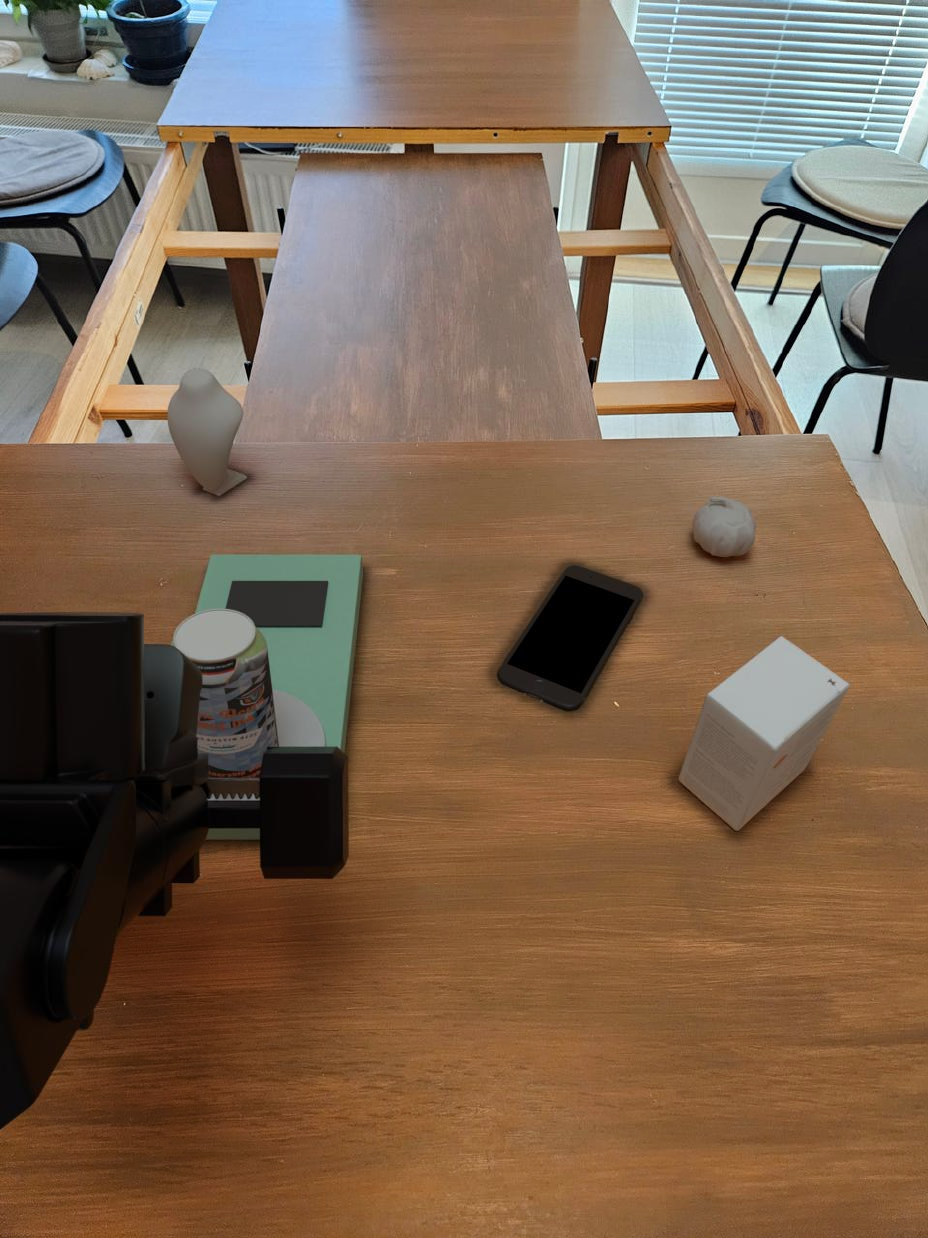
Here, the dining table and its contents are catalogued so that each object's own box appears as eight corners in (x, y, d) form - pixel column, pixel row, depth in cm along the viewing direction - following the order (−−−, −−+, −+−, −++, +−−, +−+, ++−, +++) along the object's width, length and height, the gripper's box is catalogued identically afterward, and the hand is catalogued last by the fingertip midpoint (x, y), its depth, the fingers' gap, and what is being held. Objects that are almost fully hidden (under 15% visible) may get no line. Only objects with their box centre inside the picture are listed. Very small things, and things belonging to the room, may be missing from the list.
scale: (335, 840, 61) (331, 819, 59) (145, 840, 61) (134, 819, 59) (363, 572, 78) (360, 549, 76) (215, 572, 78) (209, 548, 76)
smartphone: (490, 682, 71) (491, 675, 70) (568, 566, 80) (569, 559, 79) (576, 719, 68) (577, 712, 68) (646, 595, 77) (647, 588, 77)
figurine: (172, 487, 86) (138, 379, 77) (207, 458, 89) (179, 350, 80) (233, 512, 84) (206, 404, 75) (268, 480, 87) (246, 373, 78)
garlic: (673, 538, 82) (683, 494, 78) (716, 517, 84) (728, 473, 80) (719, 577, 78) (733, 533, 74) (763, 554, 80) (778, 509, 76)
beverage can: (181, 793, 60) (133, 683, 51) (213, 706, 65) (175, 592, 56) (272, 802, 60) (240, 693, 51) (298, 714, 65) (272, 600, 56)
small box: (744, 723, 68) (782, 631, 60) (806, 772, 65) (854, 682, 57) (674, 781, 64) (704, 691, 56) (735, 835, 61) (776, 749, 54)
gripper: (322, 663, 36) (363, 638, 52) (-135, 662, 36) (44, 638, 52) (324, 930, 37) (364, 827, 53) (-127, 931, 37) (47, 827, 52)
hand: (205, 775), depth 52 cm, fingers open, 9 cm apart
